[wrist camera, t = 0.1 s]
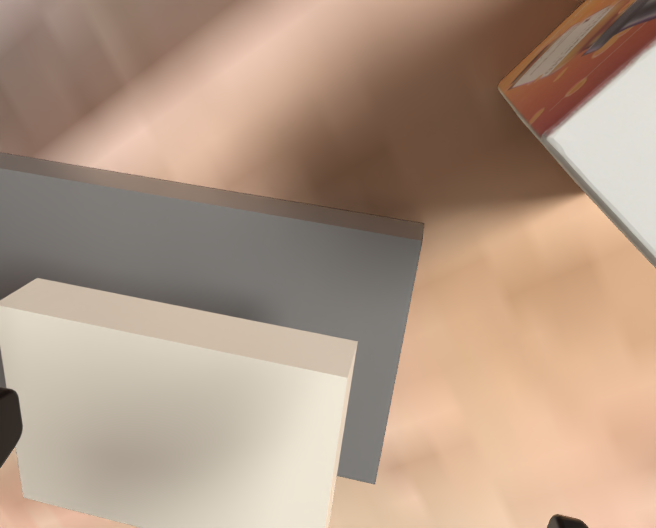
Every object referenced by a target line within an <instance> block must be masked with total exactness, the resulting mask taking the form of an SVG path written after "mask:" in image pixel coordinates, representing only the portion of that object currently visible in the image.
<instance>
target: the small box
mask: <svg viewBox="0 0 656 528" xmlns="http://www.w3.org/2000/svg"><path fill="white" fill-rule="evenodd" d="M497 88H498V90H499V92H500V93H501V94H502V96H503V97H504V98H505V100H506V101H507V102H508V103H509V105H510V106H511V107H512V108H513V110H514V111H515V113H516V114H517V116H518V117H519V118H520V119H521V121H522V122H523V123H524V124H525V125H526V126H527V127H528V129H529V130H530V131H531V132H532V133H533V134H534V135H535V136H536V138H537V139H538V140H539V141H540V142H541V143H542V144H543V146H544V147H545V148H546V149H547V150H548V152H549V153H550V154H551V155H552V156H553V157H554V159H555V160H556V161H557V162H558V163H559V164H560V165H561V166H562V168H563V169H564V170H565V171H566V172H567V173H568V174H569V176H570V177H571V178H572V179H573V180H574V181H575V182H576V183H577V184H578V186H579V187H580V188H581V189H582V190H583V191H584V192H585V193H586V194H587V195H588V196H589V198H590V199H591V200H592V201H593V202H594V203H595V204H596V205H597V206H598V207H599V208H600V210H601V211H602V212H603V213H604V214H605V215H606V216H607V217H608V218H609V219H610V220H611V221H612V222H613V223H614V225H615V226H616V227H617V228H618V229H619V230H620V231H621V232H622V233H623V234H624V235H625V236H626V237H627V238H628V240H629V241H630V242H631V243H632V244H633V245H634V246H635V247H636V248H637V249H638V250H639V251H640V252H641V253H642V254H643V255H644V256H645V257H646V259H647V260H648V261H649V262H650V263H651V264H652V265H653V266H654V267H655V268H656V0H586V1H585V2H584V3H582V4H581V5H580V6H579V7H578V8H577V9H576V10H575V11H574V12H573V13H572V14H571V15H570V16H569V17H568V18H566V19H565V20H564V21H563V22H562V23H561V24H560V25H559V26H558V27H557V28H556V29H555V30H554V31H553V32H552V33H551V34H550V35H549V36H548V37H547V38H546V39H544V40H543V41H542V42H541V43H540V44H539V45H538V46H537V47H536V48H535V49H534V50H533V51H532V52H531V53H530V54H529V55H528V56H527V57H526V58H525V59H523V60H522V61H521V62H520V63H519V64H518V65H517V66H516V67H515V68H514V69H513V70H512V71H511V72H510V73H509V74H508V75H507V76H506V77H505V78H503V79H502V80H501V81H500V83H499V84H498V87H497Z"/></svg>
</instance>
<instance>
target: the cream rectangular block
mask: <svg viewBox="0 0 656 528" xmlns="http://www.w3.org/2000/svg"><path fill="white" fill-rule="evenodd" d="M357 343H358V341H353V340H348V339H343V338H338V337H333V336H328V335H323V334H318V333H313V332H308V331H303V330H298V329H293V328H288V327H282V326H277V325H272V324H267V323H262V322H257V321H252V320H247V319H242V318H237V317H232V316H227V315H222V314H217V313H212V312H207V311H202V310H197V309H192V308H187V307H182V306H177V305H172V304H167V303H162V302H156V301H151V300H146V299H141V298H136V297H131V296H126V295H121V294H116V293H111V292H106V291H101V290H96V289H91V288H86V287H81V286H76V285H71V284H66V283H61V282H56V281H51V280H46V279H41V278H36V279H35V280H33V281H31V282H30V283H28V284H26V285H25V286H23V287H22V288H20V289H18V290H17V291H15V292H13V293H12V294H10V295H8V296H7V297H5V298H3V299H2V300H0V349H1V355H2V362H3V368H4V375H5V381H6V388H10V389H13V390H15V391H16V392H17V394H18V396H19V402H20V409H21V416H22V423H23V430H22V434H21V437H20V439H19V441H18V443H17V444H16V453H17V459H18V466H19V472H20V479H21V485H22V492H23V498H27V499H31V500H35V501H39V502H42V503H46V504H50V505H54V506H58V507H62V508H66V509H70V510H74V511H78V512H81V513H85V514H89V515H93V516H97V517H101V518H105V519H109V520H113V521H117V522H120V523H124V524H128V525H132V526H136V527H140V528H329V523H330V516H331V510H332V503H333V497H334V491H335V484H336V478H337V471H338V465H339V458H340V452H341V446H342V439H343V433H344V426H345V420H346V413H347V407H348V400H349V394H350V388H351V381H352V375H353V368H354V362H355V355H356V349H357Z"/></svg>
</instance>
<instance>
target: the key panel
mask: <svg viewBox="0 0 656 528" xmlns="http://www.w3.org/2000/svg"><path fill="white" fill-rule="evenodd" d="M423 229H424V224H423V223H417V222H412V221H406V220H400V219H394V218H388V217H382V216H376V215H370V214H364V213H358V212H352V211H346V210H340V209H334V208H328V207H322V206H316V205H310V204H304V203H298V202H292V201H286V200H280V199H274V198H268V197H262V196H256V195H250V194H244V193H238V192H232V191H226V190H220V189H215V188H209V187H203V186H197V185H191V184H185V183H179V182H173V181H167V180H161V179H155V178H149V177H143V176H137V175H131V174H125V173H119V172H113V171H107V170H101V169H95V168H89V167H83V166H77V165H71V164H65V163H59V162H53V161H47V160H41V159H35V158H29V157H23V156H18V155H12V154H6V153H0V300H2V299H3V298H5V297H7V296H8V295H10V294H12V293H13V292H15V291H17V290H18V289H20V288H22V287H23V286H25V285H26V284H28V283H30V282H31V281H33V280H35V279H36V278H41V279H46V280H51V281H56V282H61V283H66V284H71V285H76V286H81V287H86V288H91V289H96V290H101V291H106V292H111V293H116V294H121V295H126V296H131V297H136V298H141V299H146V300H151V301H156V302H162V303H167V304H172V305H177V306H182V307H187V308H192V309H197V310H202V311H207V312H212V313H217V314H222V315H227V316H232V317H237V318H242V319H247V320H252V321H257V322H262V323H267V324H272V325H277V326H282V327H288V328H293V329H298V330H303V331H308V332H313V333H318V334H323V335H328V336H333V337H338V338H343V339H348V340H353V341H358V343H357V349H356V355H355V362H354V368H353V375H352V381H351V388H350V394H349V400H348V407H347V413H346V420H345V426H344V433H343V439H342V446H341V452H340V458H339V465H338V471H337V476H340V477H345V478H349V479H353V480H358V481H362V482H366V483H371V484H375V482H376V477H377V472H378V466H379V461H380V456H381V451H382V446H383V441H384V436H385V430H386V425H387V420H388V415H389V410H390V405H391V399H392V394H393V389H394V384H395V379H396V374H397V369H398V363H399V358H400V353H401V348H402V343H403V338H404V333H405V327H406V322H407V317H408V312H409V307H410V302H411V296H412V291H413V286H414V281H415V276H416V271H417V266H418V260H419V255H420V250H421V245H422V239H423ZM0 386H1V387H5V388H6V381H5V375H4V368H3V362H2V355H1V349H0Z"/></svg>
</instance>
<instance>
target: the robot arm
mask: <svg viewBox="0 0 656 528" xmlns="http://www.w3.org/2000/svg"><path fill="white" fill-rule="evenodd" d="M22 430H23V423H22V416H21V409H20V402H19V396H18V394H17V392H16V391H15V390H13V389H10V388H5V387H1V386H0V468H1V466H2V465H3V463H4V462H5V460H6V459H7V458H8V456H9V455H10V453H11V452H12V450H13V449H14V447H15V446H16V444H17V443H18V441H19V439H20V437H21V434H22ZM547 528H588V526H587V525H586V524H585V523H584V522H583V521H581V520H579V519H576V518H572V517H568V516H563V515H559V514H557V515H553V516H552V518H551V519H550V521H549V524H548V526H547Z"/></svg>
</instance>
